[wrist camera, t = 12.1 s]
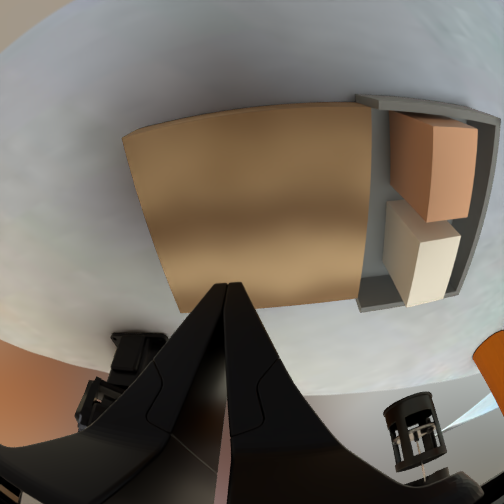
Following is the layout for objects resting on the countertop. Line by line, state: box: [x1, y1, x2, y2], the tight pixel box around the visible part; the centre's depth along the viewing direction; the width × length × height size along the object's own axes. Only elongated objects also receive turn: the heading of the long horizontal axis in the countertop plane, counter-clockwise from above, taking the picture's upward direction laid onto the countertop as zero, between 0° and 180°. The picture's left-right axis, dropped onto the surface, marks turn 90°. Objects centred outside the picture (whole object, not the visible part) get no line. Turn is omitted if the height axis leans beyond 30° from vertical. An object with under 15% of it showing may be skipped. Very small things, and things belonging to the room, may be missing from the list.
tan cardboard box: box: [389, 110, 478, 223], centre depth 13 cm, size 5×5×3 cm
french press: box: [383, 392, 450, 487], centre depth 29 cm, size 12×9×23 cm
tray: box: [355, 94, 501, 313], centre depth 16 cm, size 14×9×4 cm, turn 7°
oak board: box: [122, 102, 372, 313], centre depth 17 cm, size 13×13×2 cm
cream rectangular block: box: [382, 199, 461, 308], centre depth 16 cm, size 5×5×3 cm
